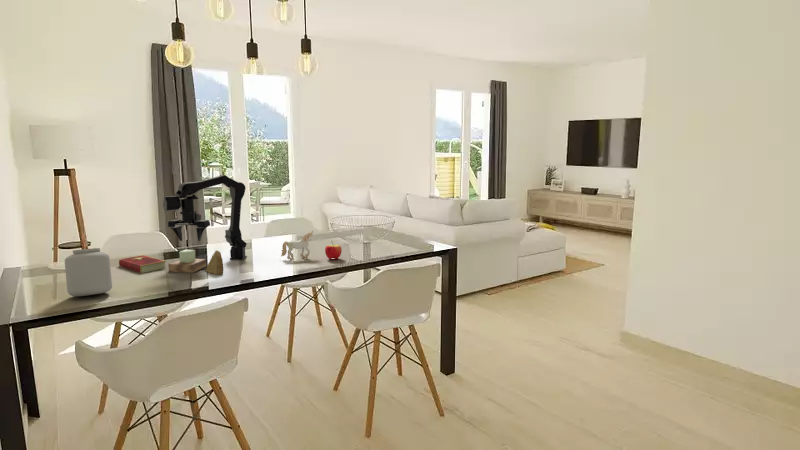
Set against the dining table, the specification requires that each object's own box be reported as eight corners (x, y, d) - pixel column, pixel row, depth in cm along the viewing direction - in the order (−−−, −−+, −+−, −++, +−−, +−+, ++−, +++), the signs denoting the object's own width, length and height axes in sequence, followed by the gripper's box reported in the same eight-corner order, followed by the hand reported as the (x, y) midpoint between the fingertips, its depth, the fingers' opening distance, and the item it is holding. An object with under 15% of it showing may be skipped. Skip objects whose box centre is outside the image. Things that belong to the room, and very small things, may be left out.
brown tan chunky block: (229, 269, 224) (229, 261, 233) (216, 256, 221) (217, 248, 230) (210, 284, 224) (211, 275, 233) (196, 271, 220) (198, 263, 229)
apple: (322, 260, 254) (322, 241, 252) (330, 256, 262) (330, 238, 260) (336, 261, 251) (336, 242, 249) (344, 258, 259) (344, 239, 257)
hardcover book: (141, 274, 226) (140, 265, 225) (119, 267, 238) (118, 258, 237) (166, 269, 235) (165, 260, 235) (144, 262, 247) (143, 254, 247)
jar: (68, 291, 197) (62, 230, 193) (111, 286, 205) (106, 227, 201) (67, 304, 181) (60, 237, 177) (113, 298, 189) (108, 234, 185)
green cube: (195, 260, 236) (195, 250, 236) (189, 262, 232) (189, 252, 231) (185, 259, 237) (185, 249, 236) (179, 262, 232) (179, 251, 231)
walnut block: (206, 267, 240) (205, 259, 239) (193, 273, 228) (192, 264, 227) (183, 266, 241) (182, 258, 240) (168, 272, 229) (168, 264, 229)
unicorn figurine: (320, 257, 261) (319, 232, 259) (286, 262, 249) (285, 236, 246) (313, 254, 266) (313, 230, 264) (280, 259, 254) (279, 234, 252)
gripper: (214, 207, 243) (216, 238, 246) (178, 206, 245) (180, 237, 248) (203, 210, 232) (205, 242, 235) (165, 209, 234) (168, 242, 237)
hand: (190, 241), depth 239 cm, fingers open, 9 cm apart
